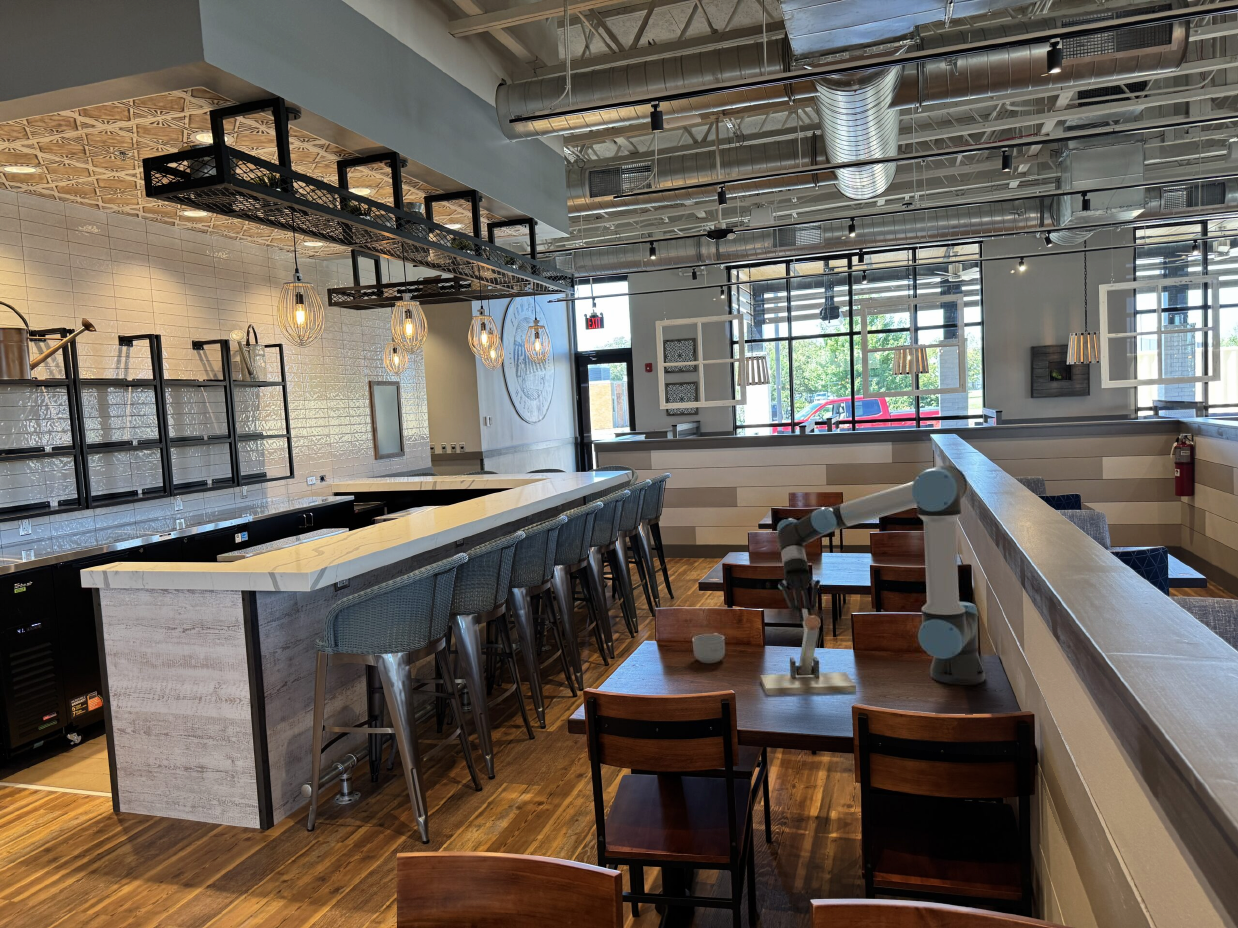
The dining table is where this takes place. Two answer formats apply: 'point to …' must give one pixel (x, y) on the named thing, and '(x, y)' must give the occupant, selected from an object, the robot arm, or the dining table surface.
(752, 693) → the dining table surface
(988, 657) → the dining table surface
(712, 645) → the teacup
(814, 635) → the press lever
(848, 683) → the board
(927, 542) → the robot arm
